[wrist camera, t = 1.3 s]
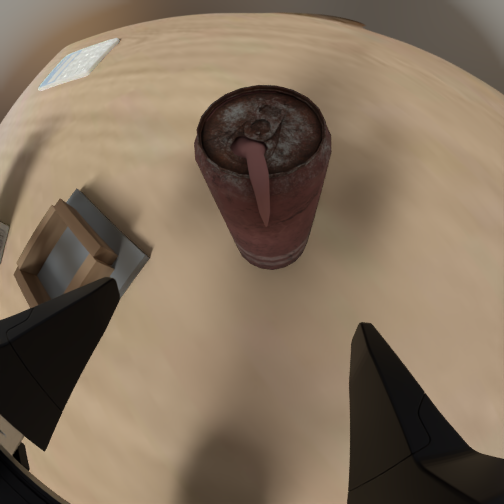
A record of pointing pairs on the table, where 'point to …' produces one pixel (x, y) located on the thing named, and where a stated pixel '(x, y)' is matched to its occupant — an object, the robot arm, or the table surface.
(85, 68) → the calculator
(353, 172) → the table surface
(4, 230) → the coffee box
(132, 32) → the table surface
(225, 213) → the can
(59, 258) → the collar
